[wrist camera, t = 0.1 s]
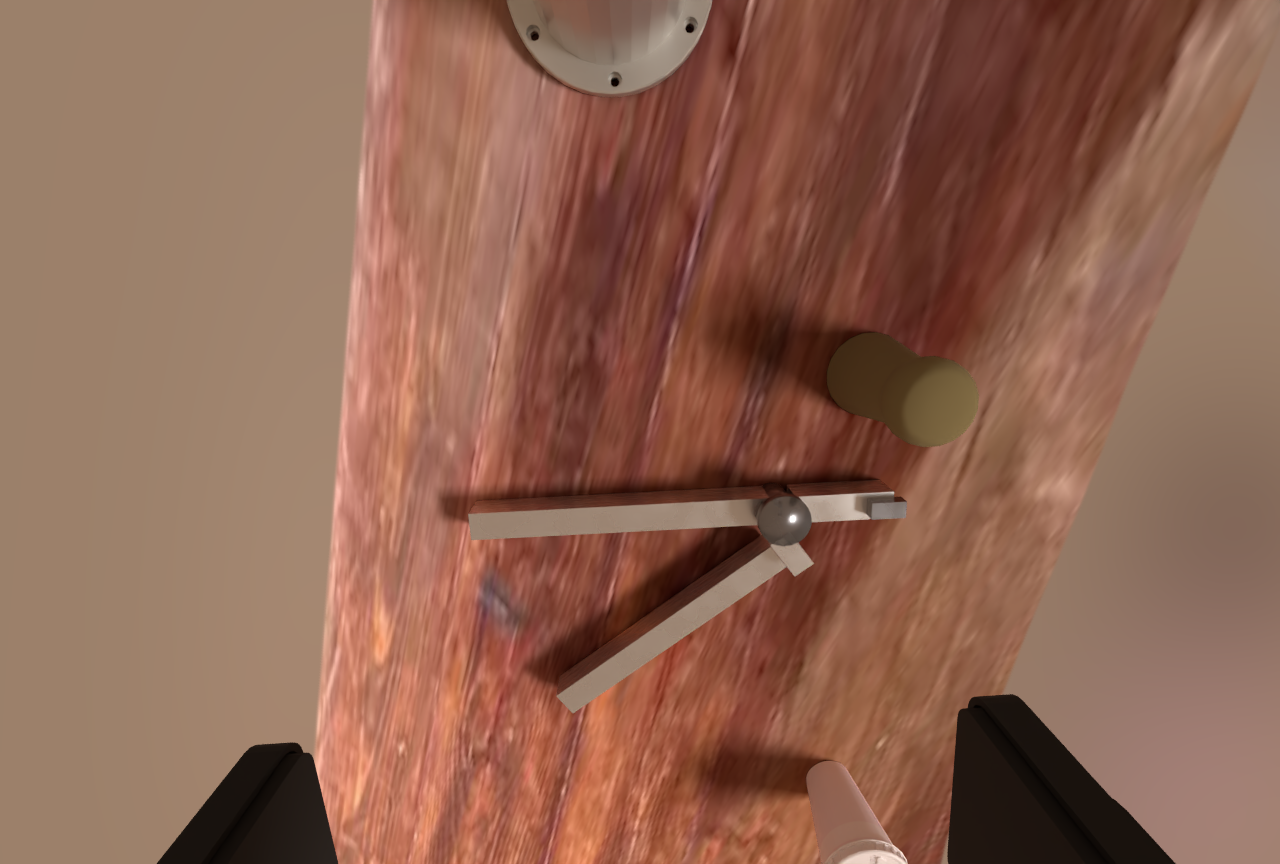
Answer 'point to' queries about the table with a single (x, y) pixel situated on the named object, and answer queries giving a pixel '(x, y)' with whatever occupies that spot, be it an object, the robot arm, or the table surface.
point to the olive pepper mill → (903, 389)
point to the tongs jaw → (696, 601)
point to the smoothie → (846, 820)
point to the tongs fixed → (675, 509)
